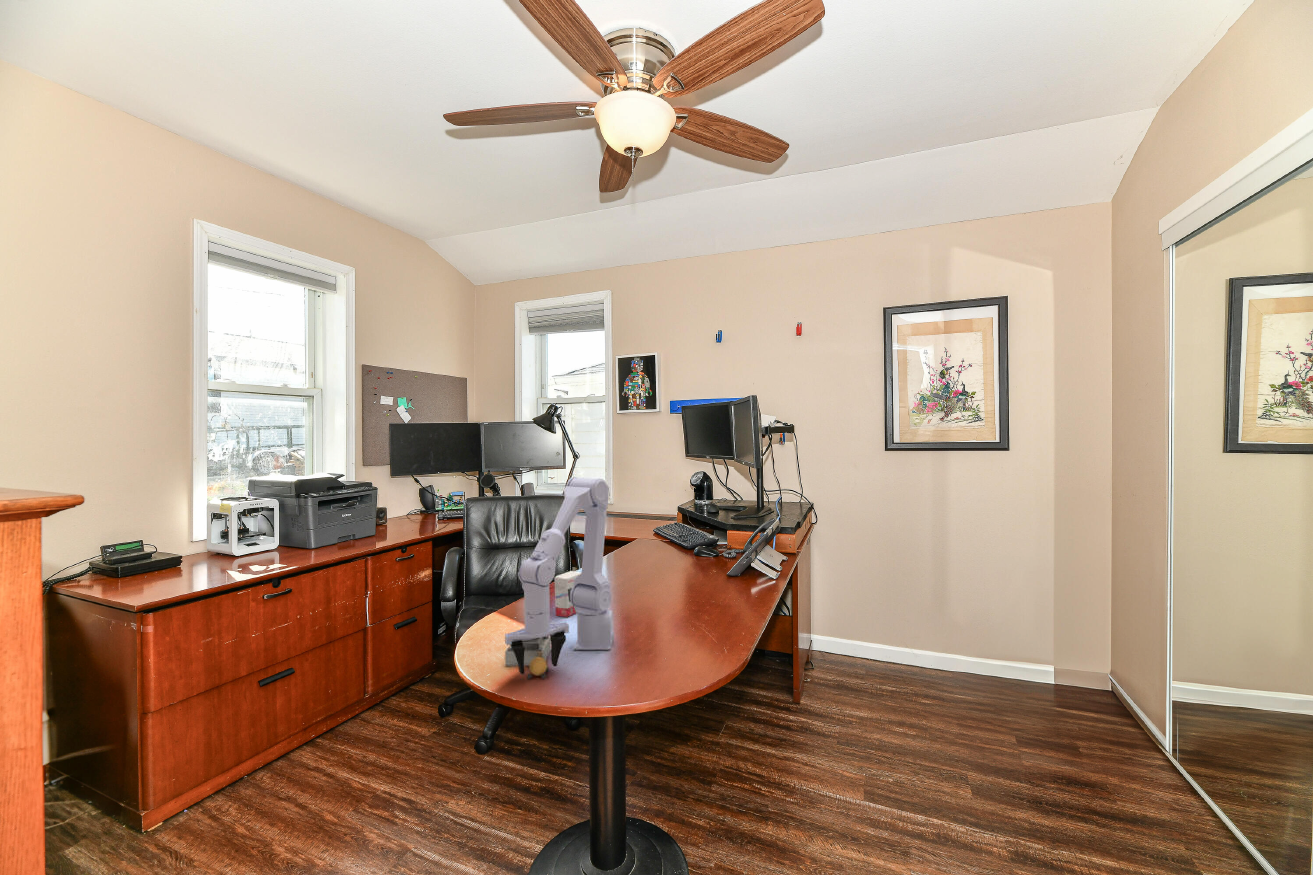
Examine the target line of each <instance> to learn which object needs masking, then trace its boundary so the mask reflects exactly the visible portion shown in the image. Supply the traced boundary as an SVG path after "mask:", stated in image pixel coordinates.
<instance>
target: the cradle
mask: <svg viewBox="0 0 1313 875" xmlns="http://www.w3.org/2000/svg"><path fill="white" fill-rule="evenodd" d="M549 671H550V668H549V667H548V666H547V668H546V671H545V672H544V673H543V674H542V675H540V676H541V680H543V679H544V680H545V679H546V677H547V676H546V673H548V672H549ZM526 676H527V680H531V679H532V678H533V674H532V673H528V674H527V675H526Z"/></svg>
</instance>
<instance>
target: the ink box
mask: <svg viewBox="0 0 1313 875" xmlns="http://www.w3.org/2000/svg"><path fill="white" fill-rule="evenodd" d="M581 573H582V571H581V572H580V571H575V570H570V571H566V572H564V573H562V574H558V575H556V576H554V596H555V597H554V598H555V599H554V603H555V616H558V617H566V618H568V617H571V616H573V615H575V614H577V611H575V607H574V606H573V605H572V604H571V601H570V593H571V590H572V588H573V583H574V579H575V578H576V577H577V576H579V575H580V574H581Z"/></svg>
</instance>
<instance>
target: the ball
mask: <svg viewBox="0 0 1313 875" xmlns="http://www.w3.org/2000/svg"><path fill="white" fill-rule="evenodd" d="M547 667H548V664H547V659H546V660H545V659H544V658H542V657H536V658H534V659H533V660H532V661H531V662H530V665H529V666H528V669H529V671H530V674H532V676H533V675H534V676H541V675H542V674H545V673H546V672H545V671H546V668H547Z"/></svg>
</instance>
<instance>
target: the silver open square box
mask: <svg viewBox="0 0 1313 875" xmlns="http://www.w3.org/2000/svg"><path fill="white" fill-rule="evenodd" d="M522 643H523V646H524V647H525V651H524V667H529V665H530V662H531V661H532V660H533V659H534V658H536V657H542V658H544V659H545V660H546V661H547V658H548V656H549V654H550V653H551V639H550V636H545V637H540V638H535V639H530V640H526V641H522ZM504 654H505V658H504V660H505V667H518V663H517V659H516V656H515V654H514V652H513V649H512V647H511V645H508V647H507V648H506V650H505V652H504Z"/></svg>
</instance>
